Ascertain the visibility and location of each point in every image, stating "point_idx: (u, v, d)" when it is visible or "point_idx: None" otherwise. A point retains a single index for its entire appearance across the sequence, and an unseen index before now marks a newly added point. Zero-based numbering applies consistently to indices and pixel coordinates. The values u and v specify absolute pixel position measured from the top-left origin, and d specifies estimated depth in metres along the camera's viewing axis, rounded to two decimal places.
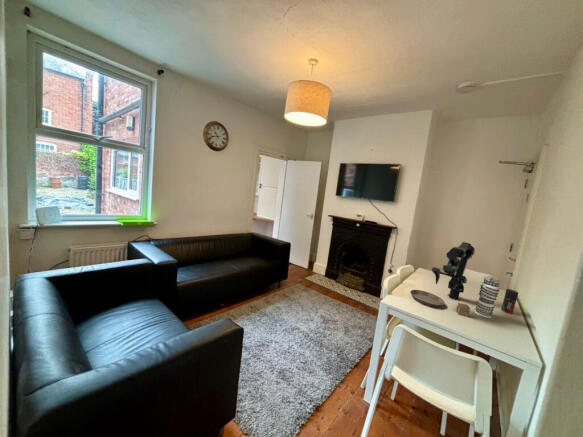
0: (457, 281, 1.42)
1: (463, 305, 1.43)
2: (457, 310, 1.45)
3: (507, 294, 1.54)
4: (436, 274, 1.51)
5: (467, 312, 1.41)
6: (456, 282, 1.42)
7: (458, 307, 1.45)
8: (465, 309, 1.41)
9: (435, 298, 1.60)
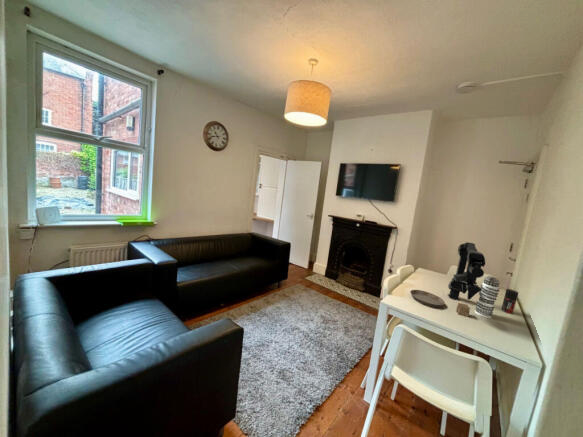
0: None
1: (463, 305, 1.43)
2: (457, 310, 1.45)
3: (507, 294, 1.54)
4: (461, 283, 1.48)
5: (467, 312, 1.41)
6: (468, 291, 1.37)
7: (458, 307, 1.45)
8: (465, 309, 1.41)
9: (435, 298, 1.60)
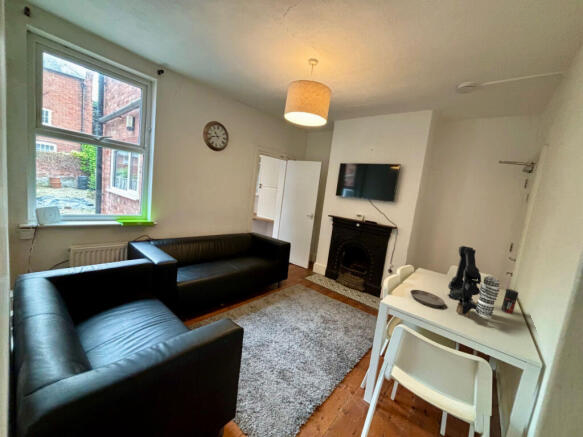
0: None
1: None
2: (457, 310, 1.45)
3: (507, 294, 1.54)
4: None
5: (467, 312, 1.41)
6: (463, 306, 1.40)
7: (458, 307, 1.45)
8: None
9: (435, 298, 1.60)
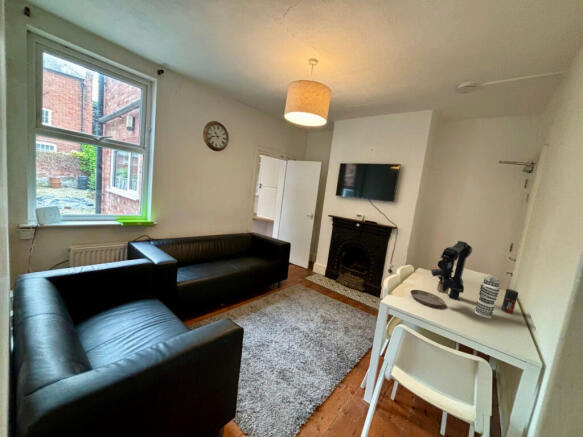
0: None
1: None
2: (438, 288, 1.52)
3: (507, 294, 1.54)
4: None
5: (447, 289, 1.47)
6: (443, 284, 1.47)
7: (439, 285, 1.51)
8: None
9: (435, 298, 1.60)
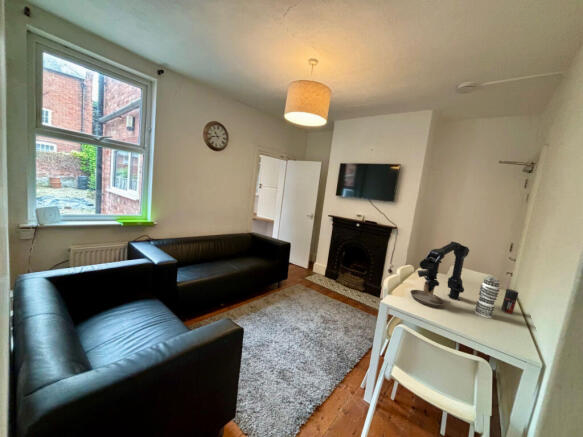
0: (428, 284, 1.52)
1: None
2: (424, 288, 1.58)
3: (507, 294, 1.54)
4: None
5: (432, 290, 1.53)
6: (428, 284, 1.53)
7: (425, 285, 1.57)
8: None
9: (435, 298, 1.60)
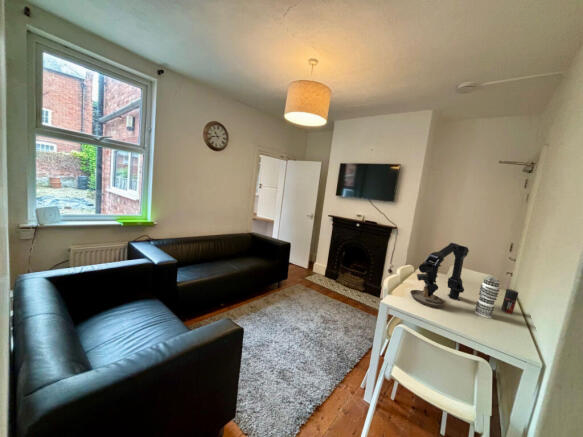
0: None
1: None
2: (423, 293, 1.58)
3: (507, 294, 1.54)
4: None
5: None
6: (428, 289, 1.51)
7: (424, 290, 1.57)
8: None
9: (435, 298, 1.60)
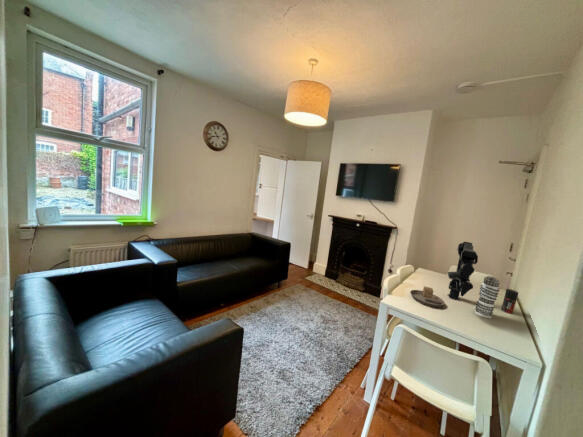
0: (460, 287, 1.41)
1: (428, 288, 1.56)
2: (423, 293, 1.58)
3: (507, 294, 1.54)
4: (455, 280, 1.52)
5: (431, 294, 1.54)
6: (461, 288, 1.41)
7: (423, 290, 1.57)
8: (429, 292, 1.54)
9: (435, 298, 1.60)
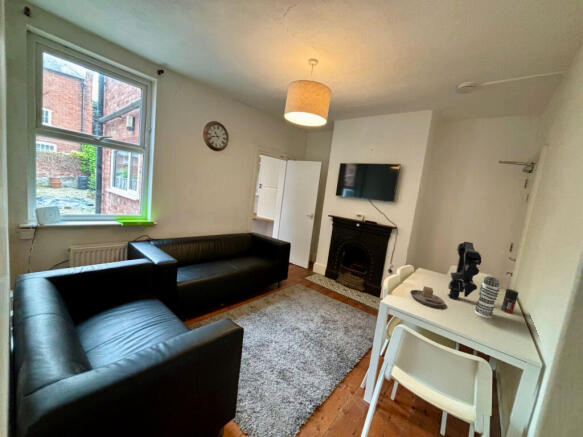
0: (464, 288, 1.40)
1: (428, 288, 1.56)
2: (423, 293, 1.58)
3: (507, 294, 1.54)
4: (458, 281, 1.51)
5: (431, 294, 1.54)
6: (464, 289, 1.40)
7: (423, 290, 1.57)
8: (429, 291, 1.54)
9: (435, 298, 1.60)
